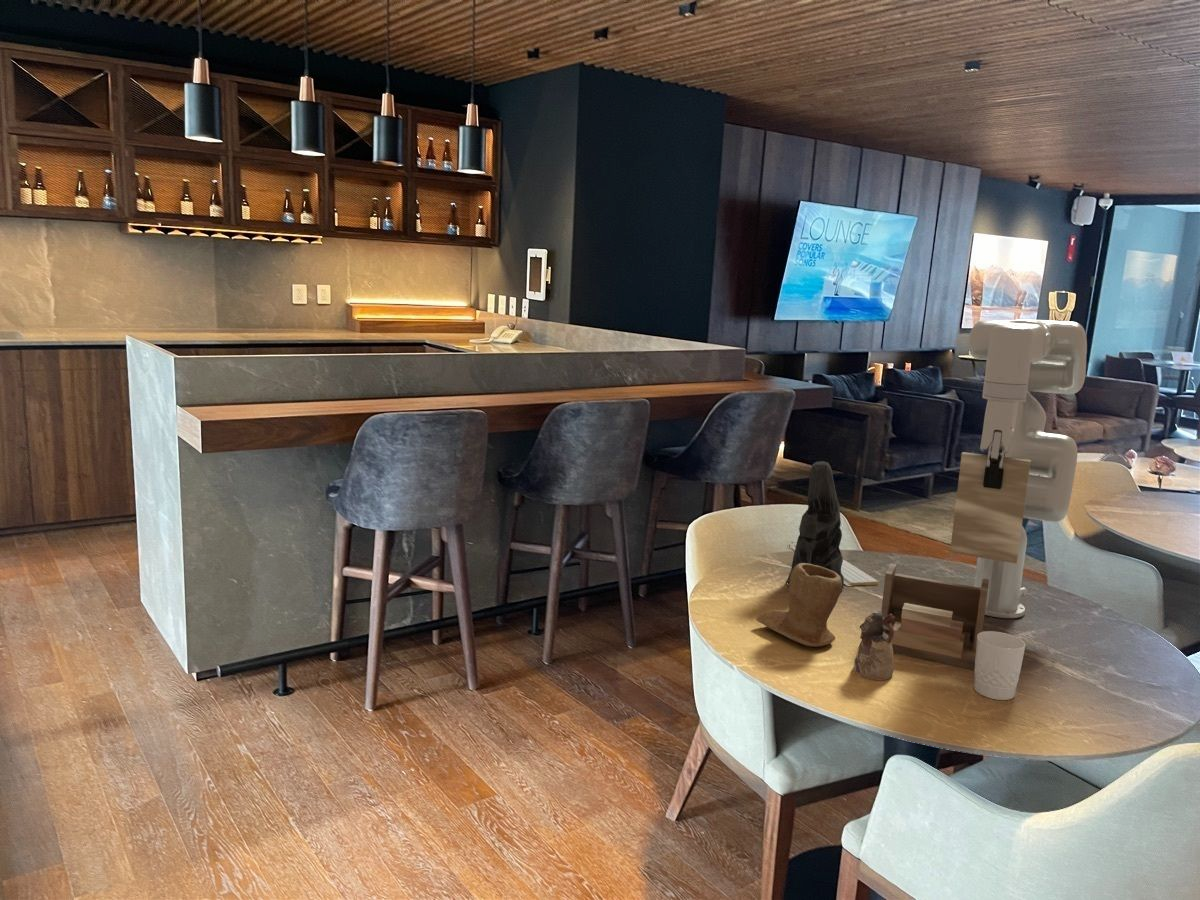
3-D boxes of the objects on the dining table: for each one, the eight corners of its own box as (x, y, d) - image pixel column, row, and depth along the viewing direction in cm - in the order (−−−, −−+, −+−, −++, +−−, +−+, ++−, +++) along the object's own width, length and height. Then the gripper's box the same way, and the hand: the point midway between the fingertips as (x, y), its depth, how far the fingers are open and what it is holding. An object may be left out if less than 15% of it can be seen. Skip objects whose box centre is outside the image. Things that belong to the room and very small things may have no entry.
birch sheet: (951, 549, 176) (962, 452, 172) (1017, 560, 170) (1030, 459, 166) (950, 552, 174) (961, 453, 170) (1016, 563, 168) (1030, 461, 164)
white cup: (995, 705, 153) (1002, 651, 151) (960, 685, 160) (967, 634, 158) (1028, 698, 156) (1035, 645, 154) (992, 679, 163) (999, 628, 161)
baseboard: (840, 588, 210) (878, 587, 213) (841, 577, 210) (879, 576, 212) (785, 550, 239) (819, 549, 241) (786, 540, 239) (819, 539, 241)
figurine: (860, 660, 169) (866, 601, 167) (897, 671, 165) (904, 610, 163) (847, 673, 163) (853, 612, 161) (885, 684, 159) (892, 622, 157)
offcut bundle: (894, 635, 178) (897, 600, 177) (962, 648, 173) (967, 612, 171) (890, 643, 174) (894, 608, 172) (961, 658, 168) (965, 621, 167)
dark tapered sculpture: (775, 576, 215) (785, 457, 210) (825, 574, 219) (836, 456, 213) (802, 597, 202) (813, 470, 197) (855, 593, 206) (868, 468, 200)
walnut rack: (883, 626, 187) (890, 563, 184) (980, 645, 179) (989, 579, 176) (873, 648, 175) (880, 581, 172) (976, 670, 167) (985, 600, 164)
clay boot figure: (849, 643, 177) (856, 572, 174) (806, 655, 171) (813, 581, 168) (795, 618, 190) (801, 551, 187) (754, 627, 183) (759, 559, 180)
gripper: (987, 385, 174) (976, 476, 178) (978, 394, 160) (967, 492, 164) (1028, 389, 170) (1016, 481, 174) (1024, 398, 157) (1011, 498, 160)
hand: (992, 485), depth 169 cm, fingers closed on birch sheet, 2 cm apart
